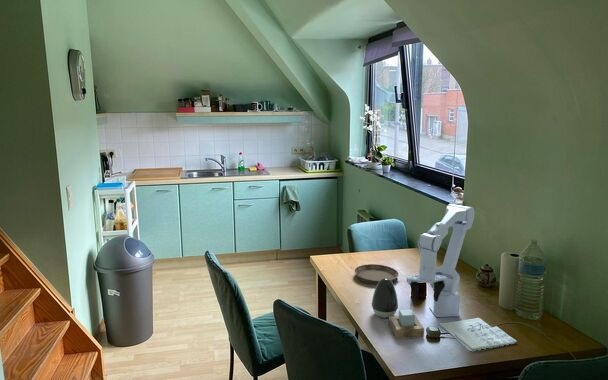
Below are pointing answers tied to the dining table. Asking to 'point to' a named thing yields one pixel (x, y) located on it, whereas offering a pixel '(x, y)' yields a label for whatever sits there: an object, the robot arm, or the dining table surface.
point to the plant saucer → (375, 273)
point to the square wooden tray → (406, 328)
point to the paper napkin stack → (477, 334)
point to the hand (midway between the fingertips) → (425, 300)
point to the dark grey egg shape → (385, 299)
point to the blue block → (406, 318)
